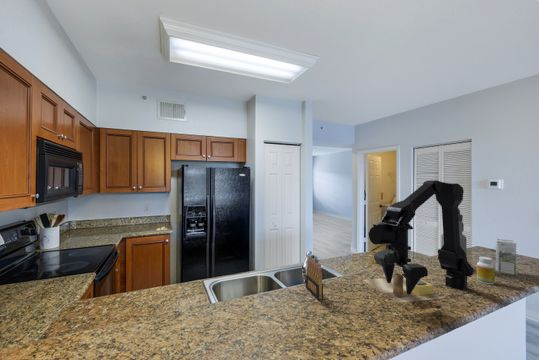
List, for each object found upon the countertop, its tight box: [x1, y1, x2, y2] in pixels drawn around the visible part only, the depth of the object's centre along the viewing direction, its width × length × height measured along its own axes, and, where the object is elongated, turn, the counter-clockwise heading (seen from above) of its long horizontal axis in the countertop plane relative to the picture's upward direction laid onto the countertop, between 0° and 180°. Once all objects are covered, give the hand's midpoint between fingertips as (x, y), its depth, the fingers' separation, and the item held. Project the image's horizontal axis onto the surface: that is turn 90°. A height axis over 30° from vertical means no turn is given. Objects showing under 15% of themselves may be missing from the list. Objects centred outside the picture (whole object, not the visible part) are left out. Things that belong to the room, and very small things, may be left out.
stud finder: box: [412, 279, 434, 295], centre depth 87 cm, size 6×5×4 cm
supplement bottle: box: [476, 256, 496, 285], centre depth 99 cm, size 5×5×10 cm
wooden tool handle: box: [392, 273, 404, 297], centre depth 84 cm, size 3×3×7 cm
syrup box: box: [495, 238, 517, 276], centre depth 111 cm, size 6×6×14 cm
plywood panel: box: [363, 277, 444, 304], centre depth 90 cm, size 18×19×1 cm
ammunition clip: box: [305, 255, 324, 301], centre depth 87 cm, size 11×2×12 cm, turn 14°
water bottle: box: [440, 207, 468, 257], centre depth 118 cm, size 10×10×28 cm
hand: (398, 288), depth 84 cm, fingers open, 9 cm apart
